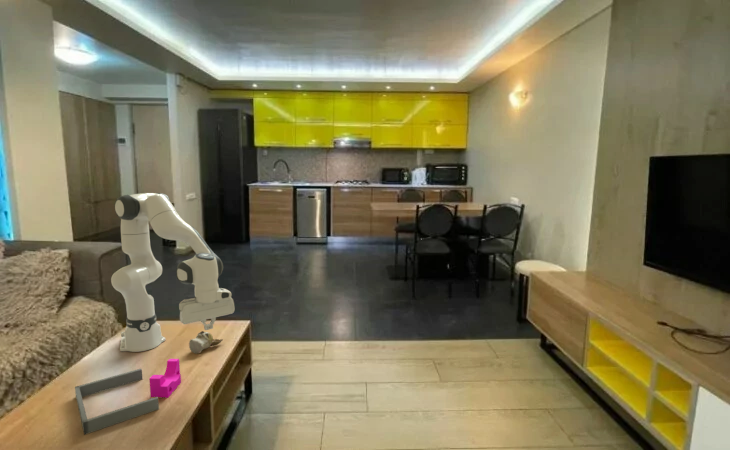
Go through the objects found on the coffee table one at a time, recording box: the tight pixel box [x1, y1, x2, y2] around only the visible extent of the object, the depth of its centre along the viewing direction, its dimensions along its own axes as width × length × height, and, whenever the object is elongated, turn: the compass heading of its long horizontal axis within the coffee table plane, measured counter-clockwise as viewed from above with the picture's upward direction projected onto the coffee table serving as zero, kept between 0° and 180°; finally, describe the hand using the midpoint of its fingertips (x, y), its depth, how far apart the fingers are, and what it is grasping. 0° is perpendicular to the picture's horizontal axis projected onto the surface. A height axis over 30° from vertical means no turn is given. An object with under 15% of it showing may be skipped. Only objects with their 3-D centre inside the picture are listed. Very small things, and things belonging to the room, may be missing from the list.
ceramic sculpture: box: [188, 330, 224, 354], centre depth 185 cm, size 11×9×15 cm
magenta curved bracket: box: [149, 358, 182, 399], centre depth 153 cm, size 15×6×8 cm, turn 0°
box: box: [74, 368, 160, 435], centre depth 143 cm, size 26×21×4 cm
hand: (208, 329), depth 160 cm, fingers closed
